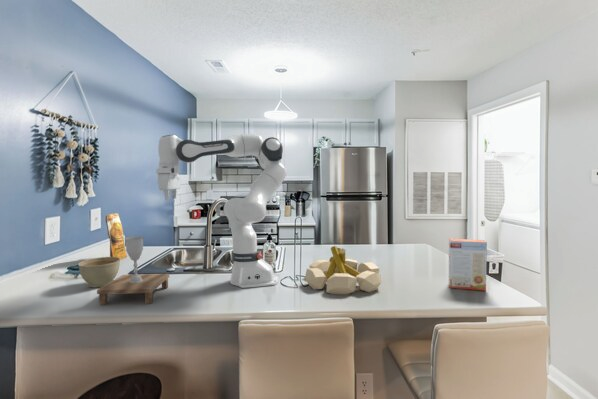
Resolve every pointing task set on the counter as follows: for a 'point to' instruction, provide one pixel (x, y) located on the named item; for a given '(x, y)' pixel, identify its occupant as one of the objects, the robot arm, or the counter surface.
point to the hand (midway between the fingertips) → (170, 199)
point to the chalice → (134, 255)
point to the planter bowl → (99, 270)
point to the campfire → (342, 274)
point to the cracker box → (467, 264)
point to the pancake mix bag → (115, 236)
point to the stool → (133, 286)
